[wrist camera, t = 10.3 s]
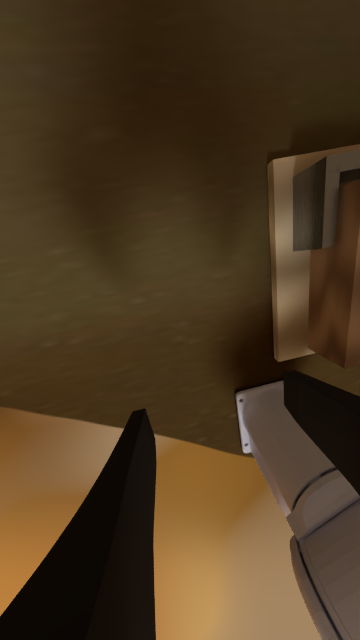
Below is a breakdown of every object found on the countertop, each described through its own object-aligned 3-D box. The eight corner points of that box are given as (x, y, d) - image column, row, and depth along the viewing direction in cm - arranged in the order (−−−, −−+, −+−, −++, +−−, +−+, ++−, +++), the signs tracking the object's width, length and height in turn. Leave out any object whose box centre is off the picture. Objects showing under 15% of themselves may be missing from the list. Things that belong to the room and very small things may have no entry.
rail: (337, 340, 20) (380, 359, 16) (307, 348, 19) (344, 368, 16) (349, 191, 15) (413, 167, 11) (311, 198, 15) (364, 176, 11)
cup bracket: (362, 236, 16) (405, 230, 14) (293, 251, 16) (322, 248, 13) (371, 162, 15) (422, 138, 12) (292, 177, 14) (326, 155, 12)
